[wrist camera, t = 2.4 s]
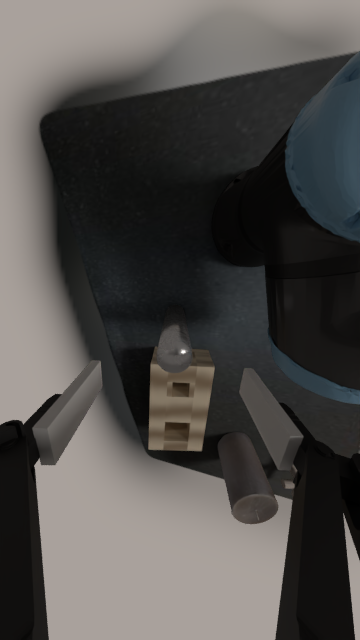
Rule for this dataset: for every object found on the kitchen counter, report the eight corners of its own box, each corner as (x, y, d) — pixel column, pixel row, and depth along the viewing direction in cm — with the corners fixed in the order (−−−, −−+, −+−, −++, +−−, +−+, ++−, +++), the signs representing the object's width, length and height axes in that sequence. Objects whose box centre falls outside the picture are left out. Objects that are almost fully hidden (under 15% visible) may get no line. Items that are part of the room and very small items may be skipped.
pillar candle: (254, 451, 49) (286, 526, 35) (222, 460, 50) (240, 538, 36) (246, 426, 46) (277, 498, 32) (212, 437, 47) (228, 511, 33)
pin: (166, 303, 35) (157, 340, 18) (185, 305, 35) (194, 342, 18) (165, 322, 36) (155, 372, 19) (183, 323, 37) (190, 374, 20)
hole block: (155, 346, 38) (150, 364, 32) (208, 349, 39) (214, 367, 32) (152, 422, 45) (148, 449, 38) (197, 423, 45) (201, 451, 39)
